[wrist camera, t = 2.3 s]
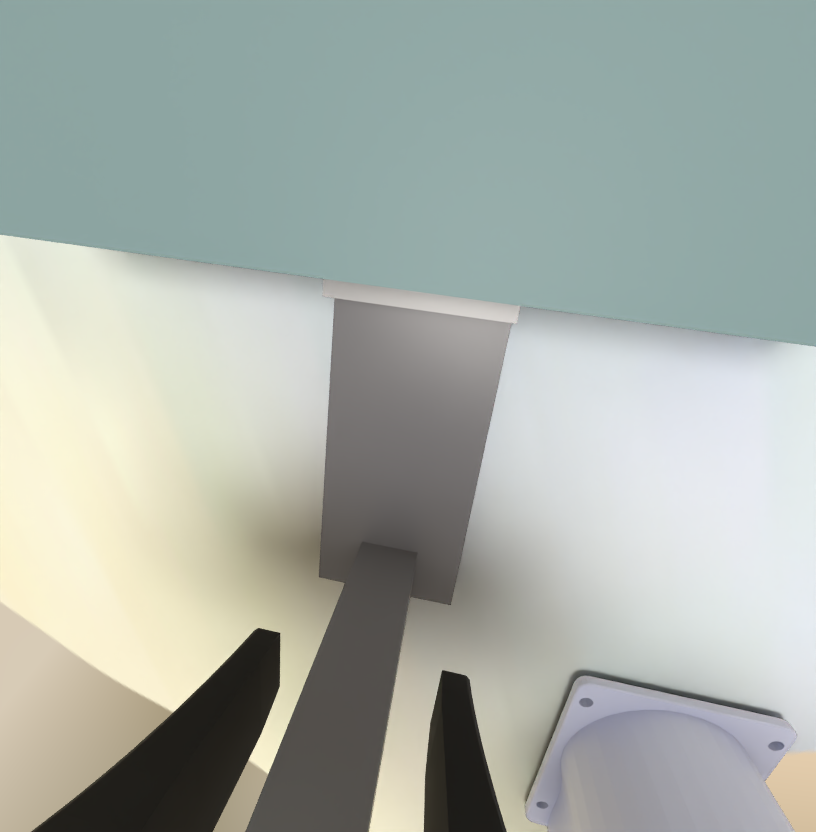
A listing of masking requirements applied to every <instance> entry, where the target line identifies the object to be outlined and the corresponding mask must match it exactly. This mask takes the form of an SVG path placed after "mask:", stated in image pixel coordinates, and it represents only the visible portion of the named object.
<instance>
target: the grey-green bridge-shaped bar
mask: <svg viewBox="0 0 816 832" xmlns="http://www.w3.org/2000/svg"><path fill="white" fill-rule="evenodd" d="M0 235H7V236H15V237H22V238H29V239H37V240H44V241H51V242H58V243H66V244H73V245H80V246H88V247H95V248H102V249H109V250H117V251H124V252H131V253H138V254H146V255H153V256H160V257H168V258H175V259H182V260H189V261H197V262H204V263H211V264H219V265H226V266H233V267H240V268H248V269H255V270H262V271H269V272H277V273H284V274H291V275H299V276H306V277H313V278H320V279H328V280H335V281H342V282H350V283H357V284H364V285H371V286H379V287H386V288H393V289H401V290H408V291H415V292H422V293H430V294H437V295H444V296H451V297H459V298H466V299H473V300H481V301H488V302H495V303H502V304H510V305H517V306H524V307H532V308H539V309H546V310H553V311H561V312H568V313H575V314H582V315H590V316H597V317H604V318H612V319H619V320H626V321H633V322H641V323H648V324H655V325H663V326H670V327H677V328H684V329H692V330H699V331H706V332H713V333H721V334H728V335H735V336H743V337H750V338H757V339H764V340H772V341H779V342H786V343H794V344H801V345H808V346H815V347H816V0H0Z"/></svg>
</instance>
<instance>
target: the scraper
mask: <svg viewBox="0 0 816 832" xmlns="http://www.w3.org/2000/svg"><path fill="white" fill-rule="evenodd" d="M322 296H324V297H331V298H335V301H334V319H333V337H332V355H331V372H330V390H329V408H328V426H327V443H326V461H325V479H324V497H323V514H322V532H321V550H320V567H319V577H321V578H325V579H330V580H335V581H340V582H344V583H345V585H344V588H343V590H342V593H341V595H340V598H339V600H338V603H337V605H336V608H335V610H334V613H333V615H332V617H331V620H330V622H329V625H328V627H327V630H326V632H325V635H324V637H323V640H322V642H321V645H320V647H319V650H318V652H317V655H316V657H315V660H314V662H313V665H312V667H311V670H310V672H309V675H308V677H307V680H306V682H305V685H304V687H303V690H302V692H301V695H300V697H299V700H298V702H297V705H296V707H295V710H294V712H293V715H292V717H291V720H290V722H289V724H288V727H287V729H286V732H285V734H284V737H283V739H282V742H281V744H280V747H279V749H278V752H277V754H276V757H275V759H274V762H273V764H272V767H271V769H270V772H269V774H268V777H267V779H266V782H265V784H264V787H263V789H262V792H261V794H260V797H259V799H258V802H257V804H256V807H255V809H254V812H253V814H252V817H251V819H250V822H249V824H248V827H247V829H246V831H245V832H369V828H370V823H371V817H372V811H373V805H374V800H375V794H376V788H377V783H378V777H379V771H380V766H381V760H382V754H383V749H384V743H385V737H386V731H387V726H388V720H389V714H390V709H391V703H392V697H393V692H394V686H395V680H396V675H397V669H398V663H399V657H400V652H401V646H402V640H403V635H404V629H405V623H406V618H407V612H408V606H409V601H410V597H415V598H419V599H424V600H429V601H434V602H438V603H443V604H448V605H451V601H452V596H453V592H454V587H455V582H456V578H457V573H458V569H459V564H460V559H461V555H462V550H463V545H464V541H465V536H466V531H467V527H468V522H469V518H470V513H471V508H472V504H473V499H474V494H475V490H476V485H477V480H478V476H479V471H480V467H481V462H482V457H483V453H484V448H485V443H486V439H487V434H488V429H489V425H490V420H491V416H492V411H493V406H494V402H495V397H496V392H497V388H498V383H499V378H500V374H501V369H502V365H503V360H504V355H505V351H506V346H507V341H508V337H509V332H510V327H511V323H514V324H517V321H518V316H519V312H520V307H521V306H517V305H510V304H502V303H495V302H488V301H481V300H473V299H466V298H459V297H451V296H444V295H437V294H430V293H422V292H415V291H408V290H401V289H393V288H386V287H379V286H371V285H364V284H357V283H350V282H342V281H335V280H328V279H323V293H322Z"/></svg>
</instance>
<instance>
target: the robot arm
mask: <svg viewBox="0 0 816 832" xmlns="http://www.w3.org/2000/svg"><path fill="white" fill-rule="evenodd" d="M279 687H280V633H278V632H273V631H269V630H265V629H260V628H258V629H256V630H255V631H254V632H253V633H252V634H251V635H250V636H249V637H248V638H247V639H246V640H245V641H244V642H243V644H242V645H241V646H240V647H239V648H238V649H237V650H236V651H235V652H234V653H233V654H232V655H231V656H230V657H229V658H228V659H227V660H226V661H225V662H224V663H223V664H222V665H221V666H220V668H219V669H218V670H217V671H216V672H215V673H214V674H213V675H212V676H211V677H210V678H209V679H208V680H207V681H206V682H205V683H204V684H203V685H201V686H200V687H199V688H198V689H197V690H196V691H195V692H194V693H193V694H192V695H191V696H190V697H189V698H188V699H187V700H186V701H185V702H184V703H183V704H182V705H181V706H180V707H179V708H178V709H177V710H176V711H175V712H173V713H172V714H171V715H170V716H169V717H168V718H167V719H166V720H165V721H164V722H163V723H161V724H160V725H159V726H158V727H157V728H156V729H155V730H154V731H153V732H152V733H150V734H149V735H148V736H147V737H146V738H145V739H144V740H143V741H141V742H140V743H139V744H138V745H137V746H136V747H135V748H134V749H133V750H131V751H130V752H129V753H128V754H127V755H126V756H125V757H123V758H122V759H121V760H120V761H119V762H118V763H116V764H115V765H114V766H113V767H112V768H110V769H109V770H108V771H107V772H106V773H105V774H103V775H102V776H101V777H100V778H99V779H97V780H96V781H95V782H94V783H92V784H91V785H90V786H89V787H88V788H86V789H85V790H84V791H83V792H82V793H80V794H79V795H78V796H77V797H75V798H74V799H73V800H71V801H70V802H69V803H68V804H67V805H65V806H64V807H63V808H61V809H60V810H59V811H57V812H56V813H55V814H54V815H52V816H51V817H50V818H48V819H47V820H46V821H45V822H43V823H42V824H41V825H39V826H38V827H37V828H35V829H34V830H33V831H32V832H213V830H214V828H215V826H216V824H217V822H218V820H219V818H220V816H221V813H222V812H223V810H224V808H225V806H226V804H227V802H228V799H229V798H230V796H231V794H232V792H233V790H234V788H235V786H236V784H237V781H238V780H239V778H240V776H241V774H242V772H243V769H244V767H245V765H246V763H247V761H248V759H249V757H250V755H251V753H252V751H253V749H254V747H255V745H256V743H257V741H258V739H259V737H260V735H261V733H262V730H263V728H264V725H265V723H266V720H267V718H268V715H269V713H270V710H271V708H272V705H273V702H274V700H275V697H276V695H277V692H278V689H279ZM796 738H797V734H796V732H795V730H794V729H793V728H792V726H791V725H790V724H789V723H788V722H787V721H786V720H783V719H780V718H776V717H772V716H767V715H763V714H758V713H754V712H749V711H745V710H740V709H736V708H731V707H727V706H722V705H718V704H713V703H709V702H704V701H700V700H695V699H691V698H686V697H682V696H677V695H673V694H668V693H664V692H659V691H655V690H651V689H646V688H642V687H637V686H633V685H628V684H624V683H619V682H615V681H610V680H606V679H601V678H597V677H592V676H581V677H579V678H577V679H576V681H575V682H574V684H573V687H572V689H571V692H570V694H569V697H568V699H567V702H566V704H565V707H564V709H563V712H562V714H561V717H560V719H559V721H558V724H557V726H556V729H555V731H554V734H553V736H552V739H551V741H550V744H549V746H548V749H547V751H546V754H545V756H544V759H543V761H542V764H541V766H540V769H539V771H538V774H537V776H536V779H535V781H534V784H533V786H532V789H531V791H530V794H529V796H528V799H527V801H526V804H525V813H526V817H527V818H528V820H530V821H531V822H534V823H537V824H541V825H545V826H547V828H548V832H795V831H794V829H793V828H792V826H791V824H790V823H789V821H788V819H787V818H786V816H785V814H784V813H783V811H782V809H781V808H780V806H779V805H778V803H777V801H776V800H775V798H774V796H773V795H772V793H771V791H770V790H769V788H768V787H767V785H766V783H765V780H766V779H767V778H768V776H769V775H770V774H771V772H772V771H773V770H774V768H775V767H776V766H777V764H778V763H779V762H780V760H781V759H782V758H783V756H784V755H785V754H786V752H787V751H788V750H789V748H790V747H791V746H792V744H793V743H794V742H795V740H796ZM424 832H507V831H506V828H505V825H504V822H503V818H502V815H501V812H500V808H499V805H498V802H497V798H496V795H495V791H494V787H493V784H492V780H491V776H490V773H489V769H488V766H487V762H486V758H485V754H484V750H483V746H482V742H481V737H480V733H479V729H478V724H477V720H476V715H475V710H474V705H473V699H472V693H471V687H470V680H469V679H468V677H467V676H465V675H461V674H457V673H452V672H448V671H444V670H442V674H441V678H440V683H439V687H438V692H437V696H436V701H435V705H434V710H433V714H432V719H431V723H430V733H429V743H428V753H427V763H426V774H425V808H424Z"/></svg>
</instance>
